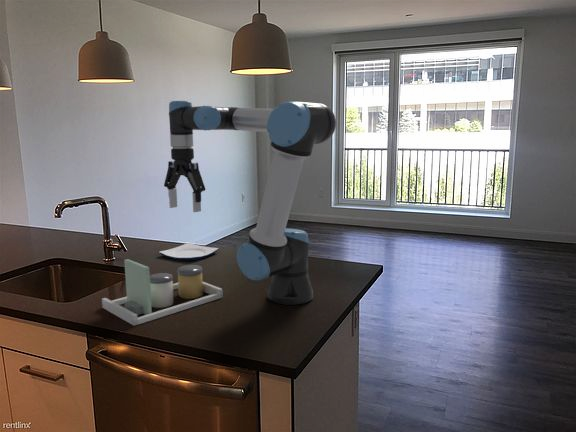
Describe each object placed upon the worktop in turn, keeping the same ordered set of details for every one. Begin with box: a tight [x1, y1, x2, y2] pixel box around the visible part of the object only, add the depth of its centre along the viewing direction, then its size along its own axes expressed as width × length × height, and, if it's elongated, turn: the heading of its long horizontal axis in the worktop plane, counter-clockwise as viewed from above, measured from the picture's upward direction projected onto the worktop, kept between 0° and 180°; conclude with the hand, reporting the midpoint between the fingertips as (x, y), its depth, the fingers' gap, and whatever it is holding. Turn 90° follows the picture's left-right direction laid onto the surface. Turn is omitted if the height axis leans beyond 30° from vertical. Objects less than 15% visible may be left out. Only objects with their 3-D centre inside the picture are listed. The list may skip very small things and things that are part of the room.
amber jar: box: [176, 264, 204, 300], centre depth 162 cm, size 8×8×9 cm
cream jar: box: [150, 272, 175, 309], centre depth 154 cm, size 8×8×9 cm
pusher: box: [123, 258, 153, 316], centre depth 147 cm, size 13×4×15 cm, turn 46°
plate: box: [159, 242, 220, 262], centre depth 212 cm, size 20×20×3 cm
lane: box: [101, 280, 224, 326], centre depth 155 cm, size 20×32×3 cm, turn 136°
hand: (185, 209), depth 167 cm, fingers open, 13 cm apart
